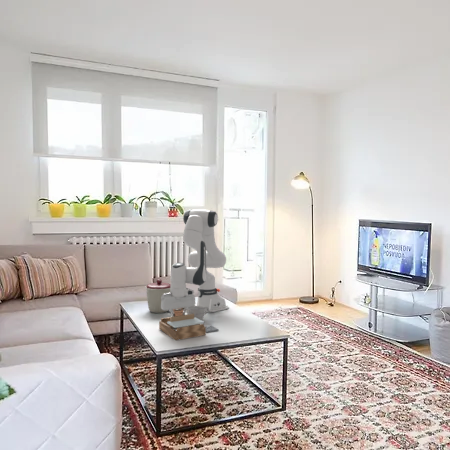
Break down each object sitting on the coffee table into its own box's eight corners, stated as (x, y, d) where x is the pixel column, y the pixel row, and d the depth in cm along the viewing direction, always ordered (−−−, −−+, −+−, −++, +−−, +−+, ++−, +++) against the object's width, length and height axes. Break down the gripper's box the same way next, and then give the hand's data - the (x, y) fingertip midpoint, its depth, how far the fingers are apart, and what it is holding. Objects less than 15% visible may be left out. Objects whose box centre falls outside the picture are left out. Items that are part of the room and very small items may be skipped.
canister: (176, 313, 285) (176, 281, 283) (148, 315, 278) (148, 282, 276) (169, 306, 301) (169, 276, 300) (142, 308, 295) (142, 277, 293)
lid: (195, 318, 251) (195, 313, 251) (204, 323, 242) (204, 317, 242) (167, 323, 242) (167, 317, 241) (174, 327, 233) (174, 321, 233)
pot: (180, 317, 255) (180, 307, 254) (184, 319, 250) (184, 310, 250) (171, 318, 252) (171, 309, 251) (175, 321, 247) (175, 311, 247)
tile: (211, 327, 256) (211, 325, 256) (218, 330, 249) (218, 329, 249) (199, 329, 252) (199, 327, 252) (206, 332, 245) (206, 331, 245)
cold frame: (187, 324, 260) (187, 314, 260) (205, 334, 242) (205, 324, 241) (159, 329, 251) (159, 318, 251) (175, 340, 232) (175, 329, 232)
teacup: (188, 323, 264) (188, 309, 263) (185, 318, 274) (185, 305, 274) (211, 321, 267) (211, 308, 267) (206, 316, 278) (207, 304, 277)
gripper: (163, 295, 241) (163, 319, 243) (196, 290, 252) (196, 314, 253) (158, 292, 247) (159, 316, 248) (191, 288, 257) (191, 311, 259)
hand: (178, 315), depth 251 cm, fingers closed on pot, 5 cm apart
